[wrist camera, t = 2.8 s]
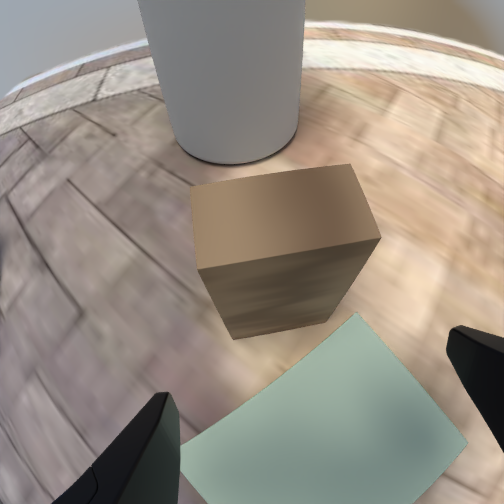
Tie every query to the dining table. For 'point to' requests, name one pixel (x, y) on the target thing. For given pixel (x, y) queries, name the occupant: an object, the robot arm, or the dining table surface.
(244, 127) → the cylinder vase
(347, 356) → the mat
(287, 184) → the walnut slab
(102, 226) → the dining table surface
